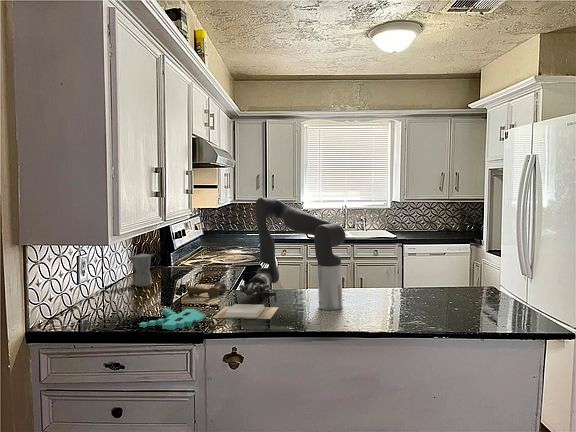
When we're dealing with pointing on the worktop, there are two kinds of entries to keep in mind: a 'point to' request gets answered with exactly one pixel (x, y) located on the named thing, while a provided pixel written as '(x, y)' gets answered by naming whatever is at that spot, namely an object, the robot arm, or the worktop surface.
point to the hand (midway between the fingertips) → (248, 293)
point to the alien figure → (176, 319)
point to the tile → (245, 310)
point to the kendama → (208, 290)
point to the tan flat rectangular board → (265, 314)
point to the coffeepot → (143, 268)
